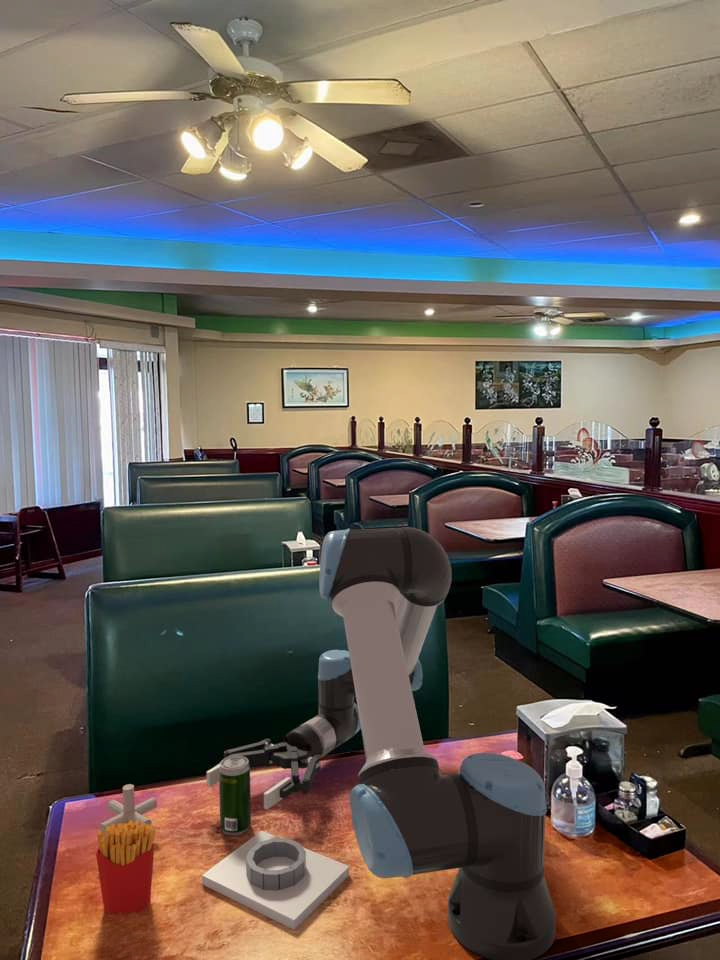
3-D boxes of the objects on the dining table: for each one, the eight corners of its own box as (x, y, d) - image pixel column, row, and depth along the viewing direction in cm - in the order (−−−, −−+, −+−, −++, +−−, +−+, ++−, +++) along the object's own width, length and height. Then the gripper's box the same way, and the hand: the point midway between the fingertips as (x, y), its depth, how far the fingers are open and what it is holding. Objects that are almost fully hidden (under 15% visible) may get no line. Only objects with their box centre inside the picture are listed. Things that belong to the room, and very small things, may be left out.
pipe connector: (121, 869, 112) (119, 810, 111) (86, 847, 118) (84, 790, 117) (172, 839, 120) (171, 783, 119) (137, 819, 126) (135, 766, 125)
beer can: (249, 836, 121) (248, 769, 120) (217, 837, 121) (216, 770, 120) (252, 818, 126) (251, 754, 125) (222, 819, 126) (221, 755, 125)
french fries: (95, 914, 102) (92, 836, 101) (104, 896, 106) (101, 820, 105) (154, 912, 102) (152, 834, 101) (161, 894, 106) (158, 818, 105)
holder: (349, 875, 111) (349, 851, 110) (294, 930, 99) (294, 903, 98) (261, 838, 120) (261, 816, 120) (202, 884, 108) (201, 860, 108)
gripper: (360, 777, 135) (291, 832, 117) (261, 745, 148) (186, 790, 131) (360, 740, 134) (291, 789, 117) (261, 711, 148) (185, 751, 130)
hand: (235, 790), depth 124 cm, fingers open, 13 cm apart
